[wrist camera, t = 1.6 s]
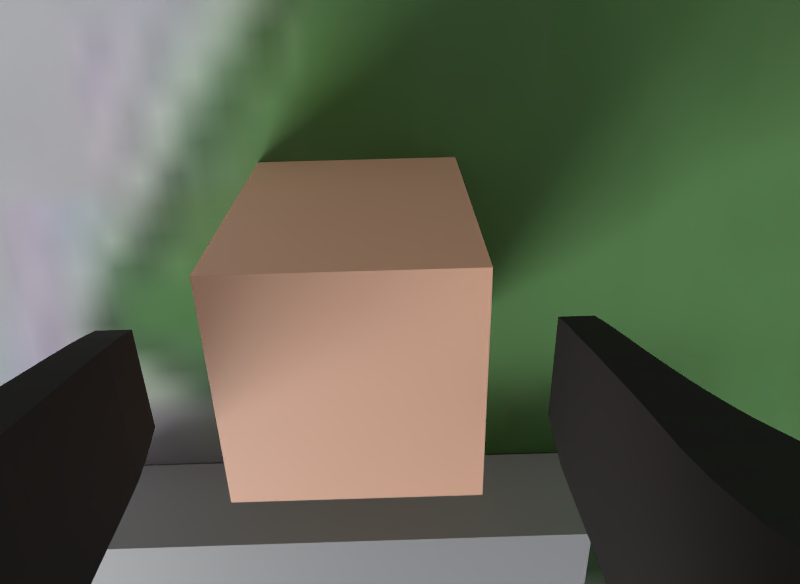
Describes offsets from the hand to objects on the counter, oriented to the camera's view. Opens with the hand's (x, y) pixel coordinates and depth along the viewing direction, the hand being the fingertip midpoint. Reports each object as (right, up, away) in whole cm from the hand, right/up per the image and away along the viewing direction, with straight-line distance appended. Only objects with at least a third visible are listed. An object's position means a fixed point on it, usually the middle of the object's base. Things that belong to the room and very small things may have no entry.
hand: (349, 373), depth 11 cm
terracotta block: (0, +2, +5) cm, 5 cm away
